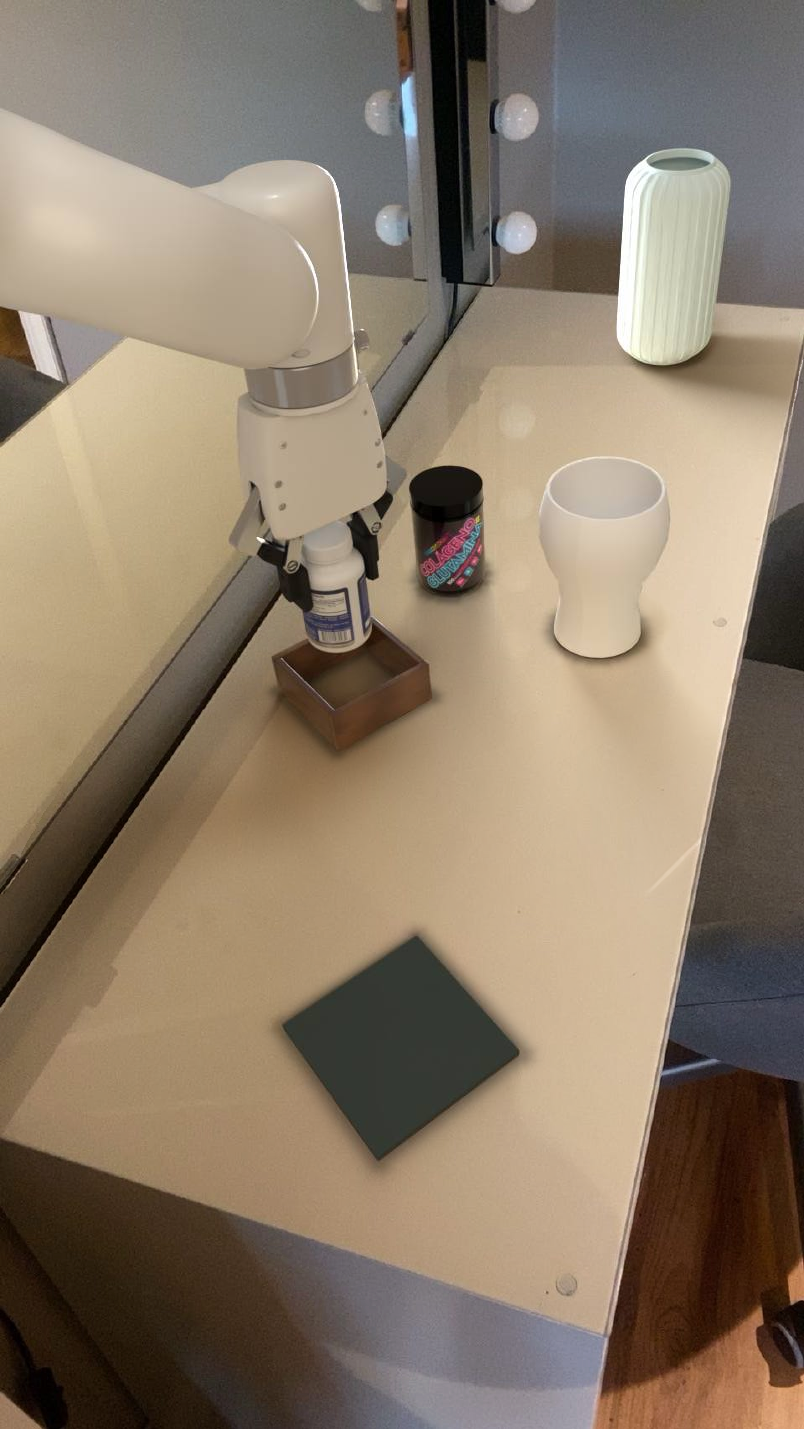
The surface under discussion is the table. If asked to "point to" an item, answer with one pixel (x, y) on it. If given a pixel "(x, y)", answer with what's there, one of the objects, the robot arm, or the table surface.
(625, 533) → the cup
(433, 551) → the supplement container
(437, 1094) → the pad
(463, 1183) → the table surface
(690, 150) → the vase
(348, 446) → the robot arm
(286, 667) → the crate
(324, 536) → the pill bottle
